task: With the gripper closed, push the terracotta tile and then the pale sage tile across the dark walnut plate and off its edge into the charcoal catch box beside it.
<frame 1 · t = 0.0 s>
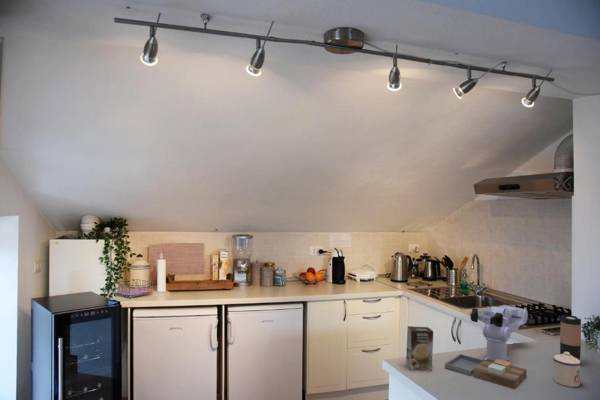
hand: (481, 319, 167), 22 cm above the worktop, tool horizontal, fingers open, 7 cm apart
coffee box: (418, 367, 171), on the worktop
cream lidded canister: (566, 381, 161), on the worktop
catch box: (465, 366, 173), on the worktop
travel mug: (569, 363, 181), on the worktop
terracotta tile: (502, 367, 166), point 3 cm above the worktop, touching walnut plate
walnut plate: (499, 376, 164), on the worktop
sage tile: (496, 371, 161), point 3 cm above the worktop, touching walnut plate
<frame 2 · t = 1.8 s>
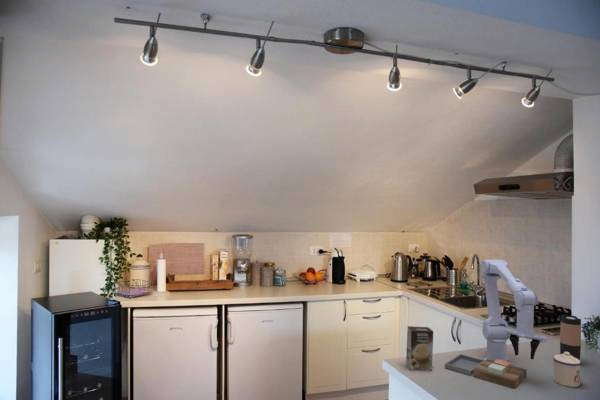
hand: (524, 356, 160), 9 cm above the worktop, tool pointing down, fingers open, 5 cm apart
nothing on the worktop moved.
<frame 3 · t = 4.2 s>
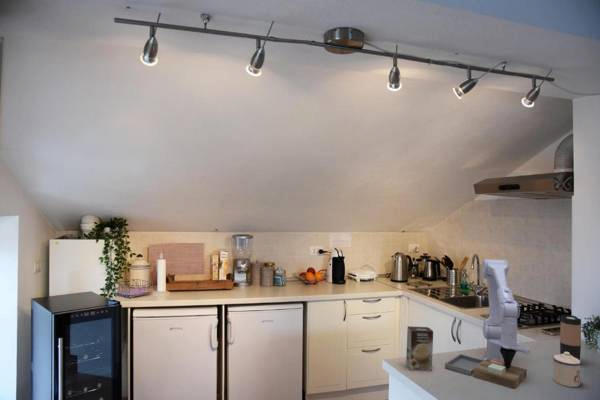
hand: (507, 367, 164), 4 cm above the worktop, tool pointing down, fingers closed
terracotta tile: (498, 366, 166), point 3 cm above the worktop, touching gripper, walnut plate
everything else where it was.
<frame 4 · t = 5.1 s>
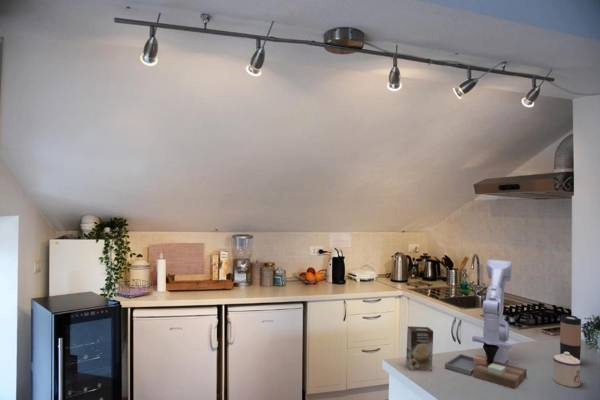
hand: (490, 362, 168), 4 cm above the worktop, tool pointing down, fingers closed
terracotta tile: (481, 362, 171), point 3 cm above the worktop, touching walnut plate
everything else where it was.
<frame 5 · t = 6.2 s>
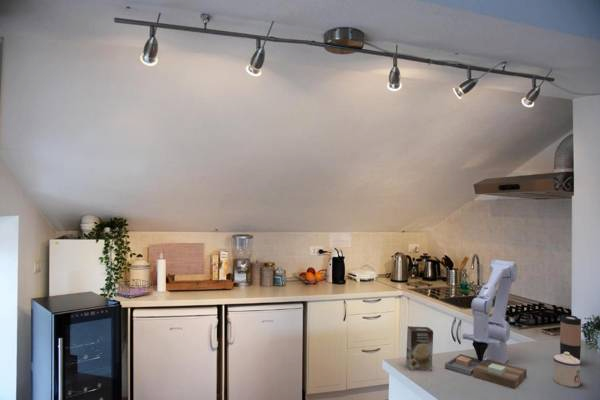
hand: (480, 360, 171), 4 cm above the worktop, tool pointing down, fingers closed
terracotta tile: (464, 358, 175), point 2 cm above the worktop, tilted 180°, touching catch box
everything else where it was.
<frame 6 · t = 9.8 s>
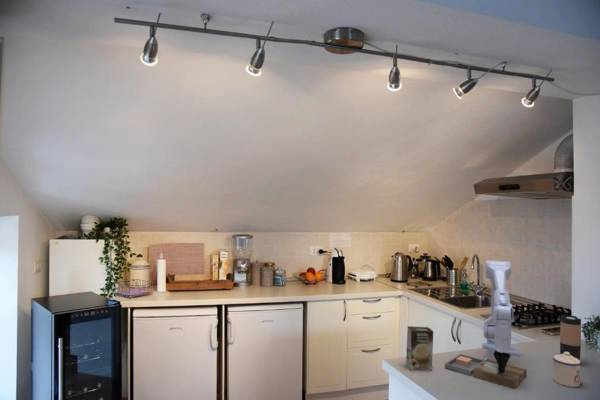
hand: (502, 371, 159), 4 cm above the worktop, tool pointing down, fingers closed
sage tile: (492, 370, 162), point 3 cm above the worktop, touching gripper
everything else where it was.
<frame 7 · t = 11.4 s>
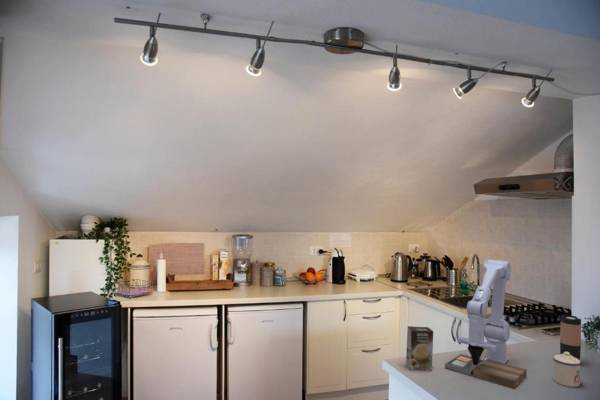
hand: (475, 364, 166), 4 cm above the worktop, tool pointing down, fingers closed
sage tile: (459, 363, 170), point 2 cm above the worktop, tilted 180°, touching catch box
everything else where it was.
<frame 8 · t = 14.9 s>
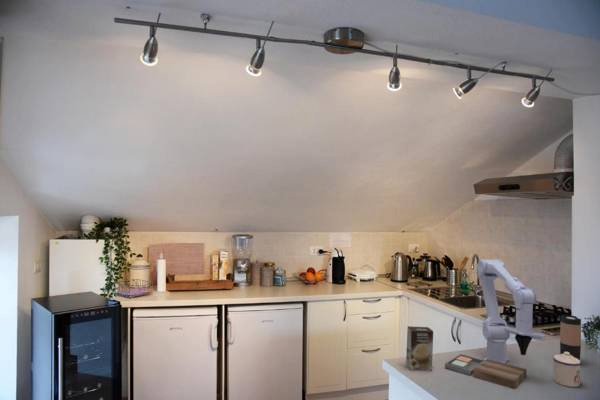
hand: (523, 354, 163), 9 cm above the worktop, tool pointing down, fingers closed
nothing on the worktop moved.
at the end: terracotta tile inside the target area (2.5 cm from its centre), point 2.4 cm above the worktop; sage tile inside the target area (4.3 cm from its centre), point 2.4 cm above the worktop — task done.
